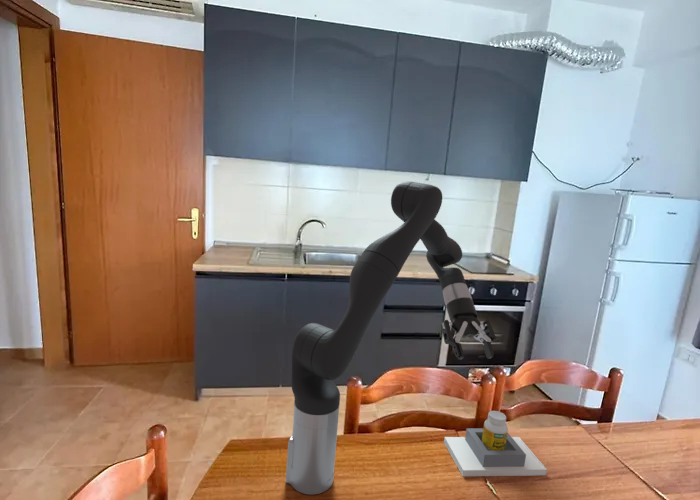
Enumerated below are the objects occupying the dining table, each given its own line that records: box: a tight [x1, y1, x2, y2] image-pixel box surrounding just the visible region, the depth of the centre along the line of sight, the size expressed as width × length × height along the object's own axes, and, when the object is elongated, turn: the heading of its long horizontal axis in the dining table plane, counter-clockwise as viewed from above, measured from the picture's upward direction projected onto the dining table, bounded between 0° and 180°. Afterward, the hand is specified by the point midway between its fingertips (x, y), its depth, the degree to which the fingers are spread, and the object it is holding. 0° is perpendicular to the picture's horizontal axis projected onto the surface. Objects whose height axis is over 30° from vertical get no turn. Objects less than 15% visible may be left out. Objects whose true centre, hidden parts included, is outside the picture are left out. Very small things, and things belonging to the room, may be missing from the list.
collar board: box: [443, 427, 548, 477], centre depth 96 cm, size 20×12×4 cm, turn 97°
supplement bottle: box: [482, 410, 509, 451], centre depth 96 cm, size 5×5×10 cm
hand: (476, 358), depth 104 cm, fingers open, 8 cm apart
